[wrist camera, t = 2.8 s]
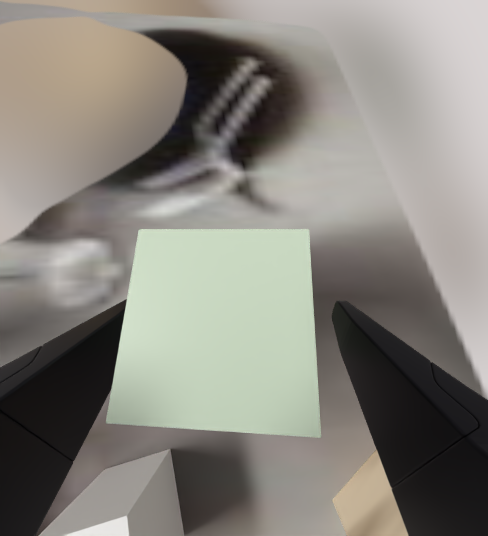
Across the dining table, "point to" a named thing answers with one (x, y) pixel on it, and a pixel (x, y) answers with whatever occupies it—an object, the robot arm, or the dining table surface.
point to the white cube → (126, 502)
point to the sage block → (219, 333)
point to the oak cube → (369, 503)
